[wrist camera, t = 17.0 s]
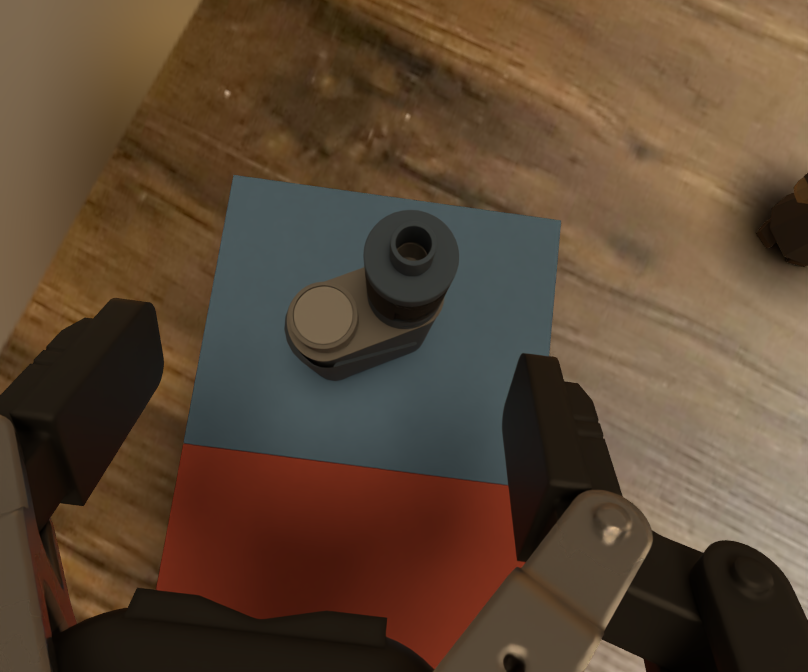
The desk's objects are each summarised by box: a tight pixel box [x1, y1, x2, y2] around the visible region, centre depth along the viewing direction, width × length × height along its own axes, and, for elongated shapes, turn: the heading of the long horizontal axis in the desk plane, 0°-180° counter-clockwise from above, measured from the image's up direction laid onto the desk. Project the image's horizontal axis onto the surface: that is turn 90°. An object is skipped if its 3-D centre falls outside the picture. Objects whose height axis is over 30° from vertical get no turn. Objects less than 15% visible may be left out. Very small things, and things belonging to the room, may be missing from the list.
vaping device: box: [284, 210, 459, 381], centre depth 18 cm, size 3×5×12 cm, turn 111°
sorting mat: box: [156, 175, 561, 669], centre depth 24 cm, size 15×24×1 cm, turn 173°
